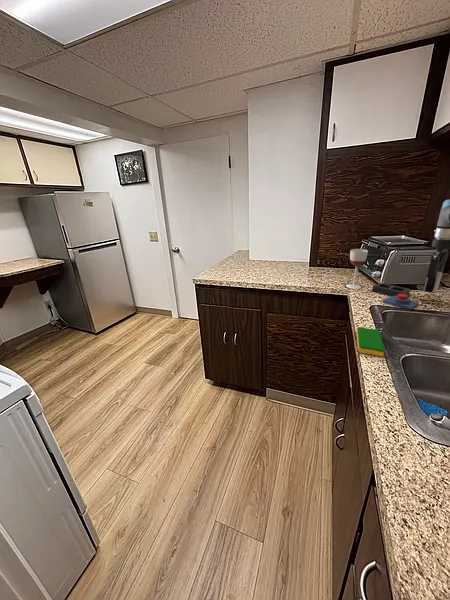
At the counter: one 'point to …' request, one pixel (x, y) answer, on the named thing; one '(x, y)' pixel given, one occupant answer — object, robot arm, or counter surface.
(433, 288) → the block
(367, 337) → the dish sponge
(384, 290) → the adapter
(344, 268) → the counter surface
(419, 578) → the counter surface
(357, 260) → the wineglass
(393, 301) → the switchbox
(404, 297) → the switch
